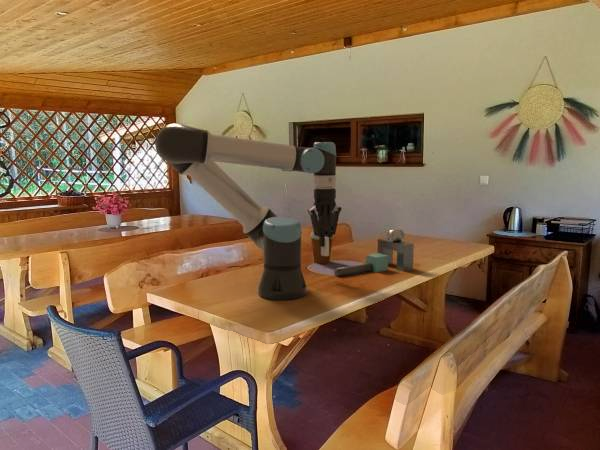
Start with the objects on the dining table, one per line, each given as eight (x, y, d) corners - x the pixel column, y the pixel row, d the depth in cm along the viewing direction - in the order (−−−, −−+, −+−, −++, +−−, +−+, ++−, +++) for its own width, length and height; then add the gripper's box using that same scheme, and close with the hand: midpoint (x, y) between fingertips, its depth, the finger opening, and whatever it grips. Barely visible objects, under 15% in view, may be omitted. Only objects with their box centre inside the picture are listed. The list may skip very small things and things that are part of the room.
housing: (403, 271, 183) (404, 233, 180) (377, 263, 195) (378, 227, 193) (412, 269, 185) (414, 231, 183) (386, 262, 197) (387, 226, 195)
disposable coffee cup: (331, 264, 193) (332, 234, 191) (308, 263, 195) (308, 233, 193) (335, 259, 202) (335, 230, 200) (312, 258, 204) (312, 230, 202)
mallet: (341, 278, 173) (341, 262, 172) (331, 274, 177) (332, 259, 177) (387, 270, 184) (388, 255, 184) (378, 267, 189) (378, 253, 188)
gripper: (315, 189, 161) (315, 259, 164) (346, 187, 168) (346, 255, 171) (302, 188, 167) (303, 255, 171) (333, 186, 174) (333, 251, 178)
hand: (325, 255), depth 171 cm, fingers closed
